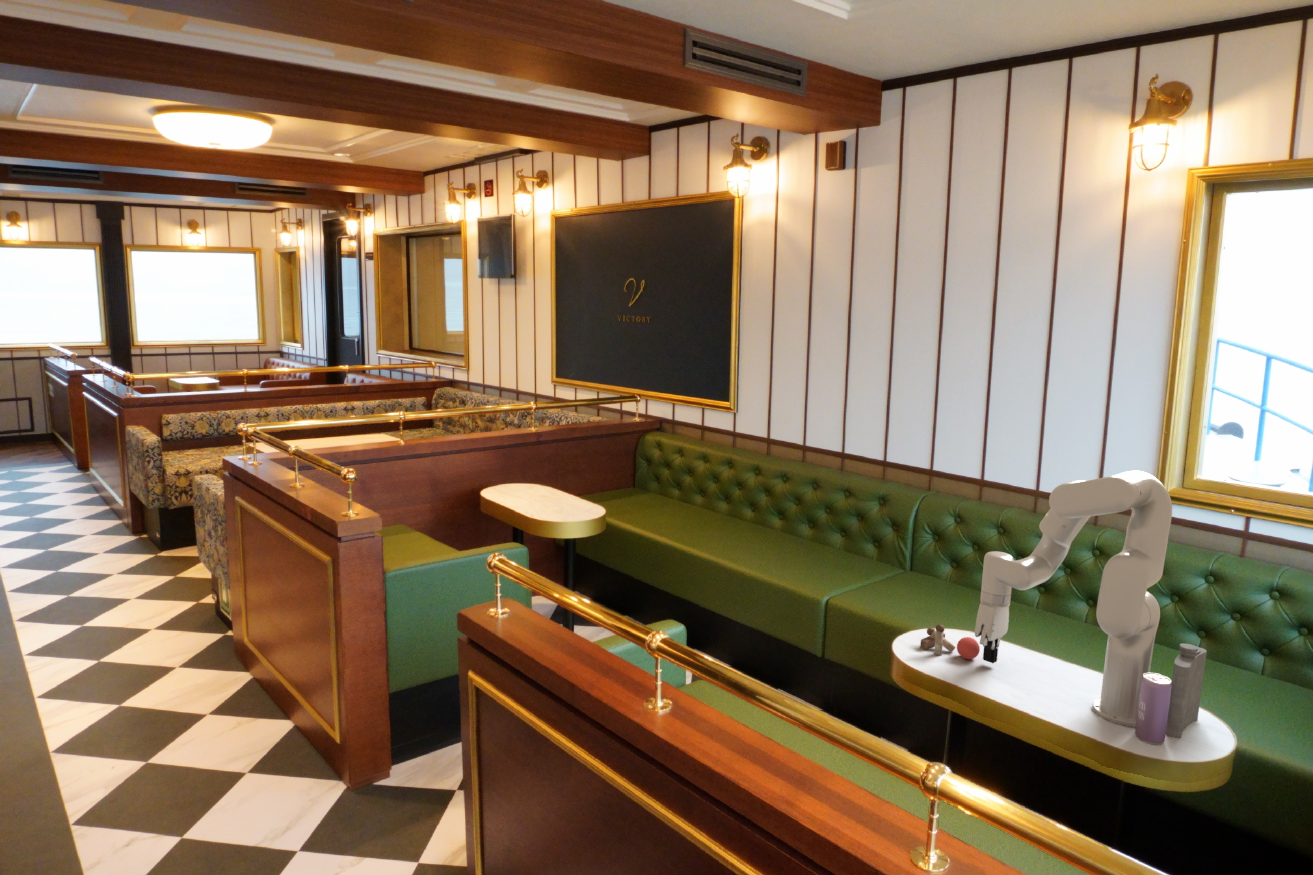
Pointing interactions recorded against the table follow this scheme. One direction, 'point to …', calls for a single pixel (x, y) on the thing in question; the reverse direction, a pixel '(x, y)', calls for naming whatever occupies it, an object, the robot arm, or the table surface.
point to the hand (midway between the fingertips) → (989, 660)
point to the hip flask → (1185, 689)
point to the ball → (968, 648)
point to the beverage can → (1153, 708)
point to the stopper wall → (928, 642)
